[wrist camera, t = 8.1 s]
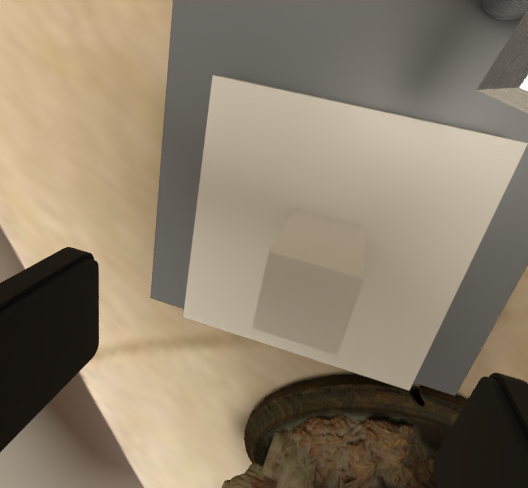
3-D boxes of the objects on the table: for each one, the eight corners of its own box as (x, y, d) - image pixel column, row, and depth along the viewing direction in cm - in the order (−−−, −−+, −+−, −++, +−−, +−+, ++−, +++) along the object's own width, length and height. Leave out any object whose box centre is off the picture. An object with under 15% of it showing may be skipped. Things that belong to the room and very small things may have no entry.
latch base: (449, 376, 21) (455, 395, 20) (162, 286, 24) (150, 298, 22) (810, -307, 10) (877, -368, 9) (218, -331, 13) (202, -381, 12)
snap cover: (405, 363, 20) (425, 489, 13) (198, 298, 22) (129, 382, 15) (508, 137, 15) (614, 167, 9) (229, 77, 17) (147, 65, 10)
